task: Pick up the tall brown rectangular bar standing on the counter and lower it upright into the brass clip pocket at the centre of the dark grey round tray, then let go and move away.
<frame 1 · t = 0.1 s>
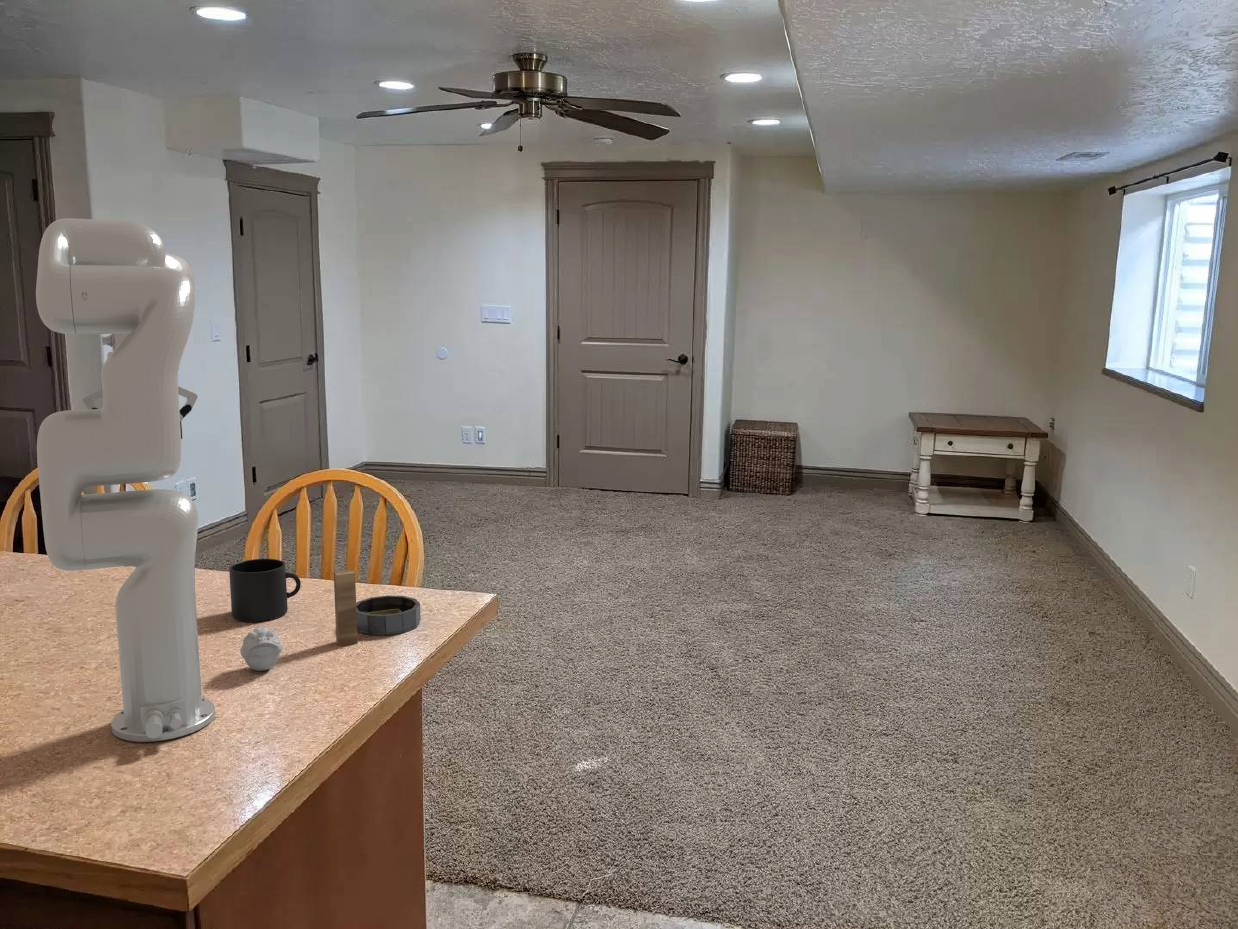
hand: (144, 445, 165), 31 cm above the kitchen counter, tool pointing down, fingers open, 9 cm apart
dark grey round tray: (386, 624, 170), on the kitchen counter
brown rectangular bar: (346, 642, 161), on the kitchen counter
mug: (267, 614, 175), on the kitchen counter
frog figurine: (262, 671, 149), on the kitchen counter
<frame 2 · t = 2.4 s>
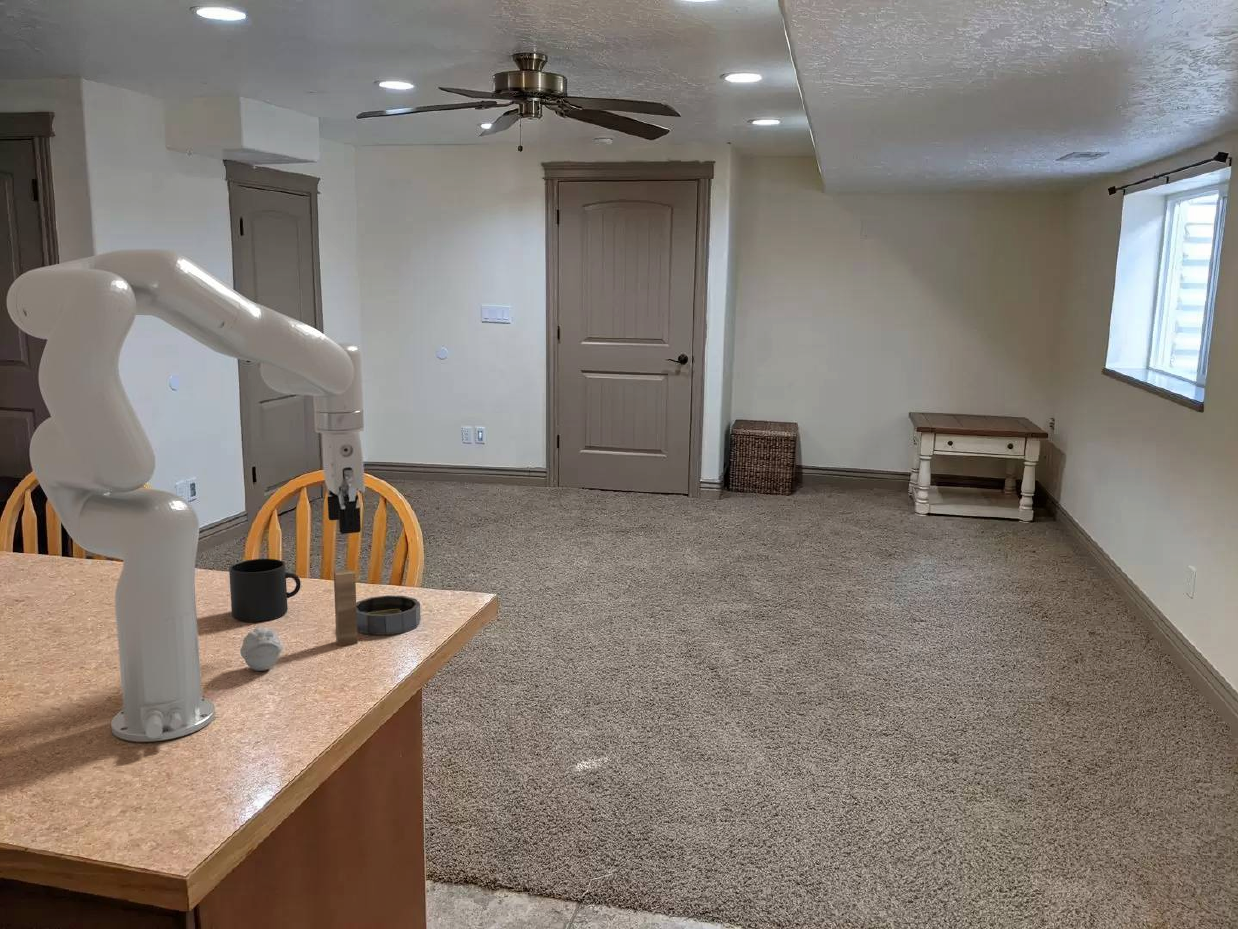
hand: (344, 525, 158), 20 cm above the kitchen counter, tool pointing down, fingers open, 9 cm apart
nothing on the kitchen counter moved.
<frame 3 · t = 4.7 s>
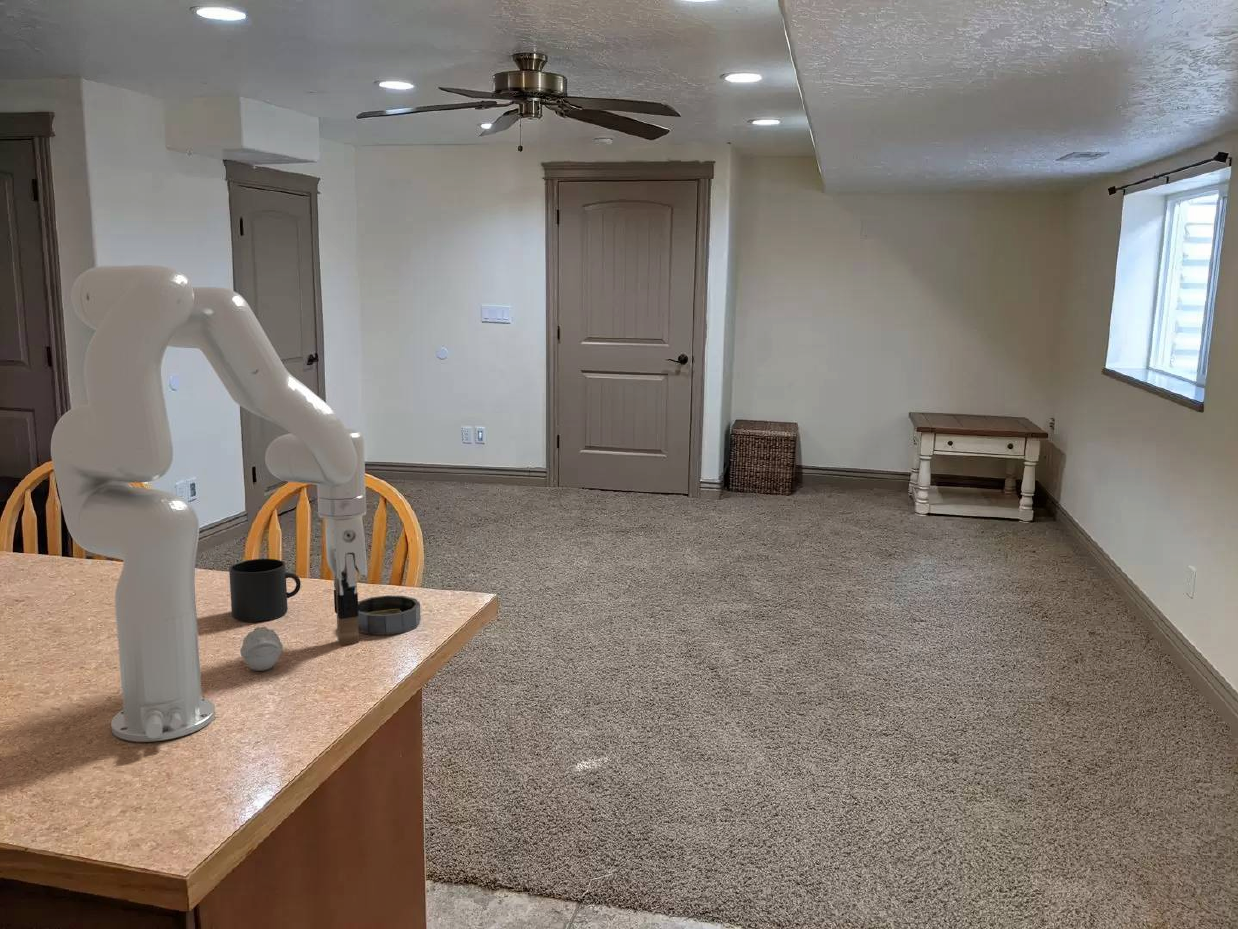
hand: (346, 613, 160), 5 cm above the kitchen counter, tool pointing down, fingers closed on brown rectangular bar, 2 cm apart
brown rectangular bar: (348, 641, 161), on the kitchen counter, touching gripper
everything else where it was.
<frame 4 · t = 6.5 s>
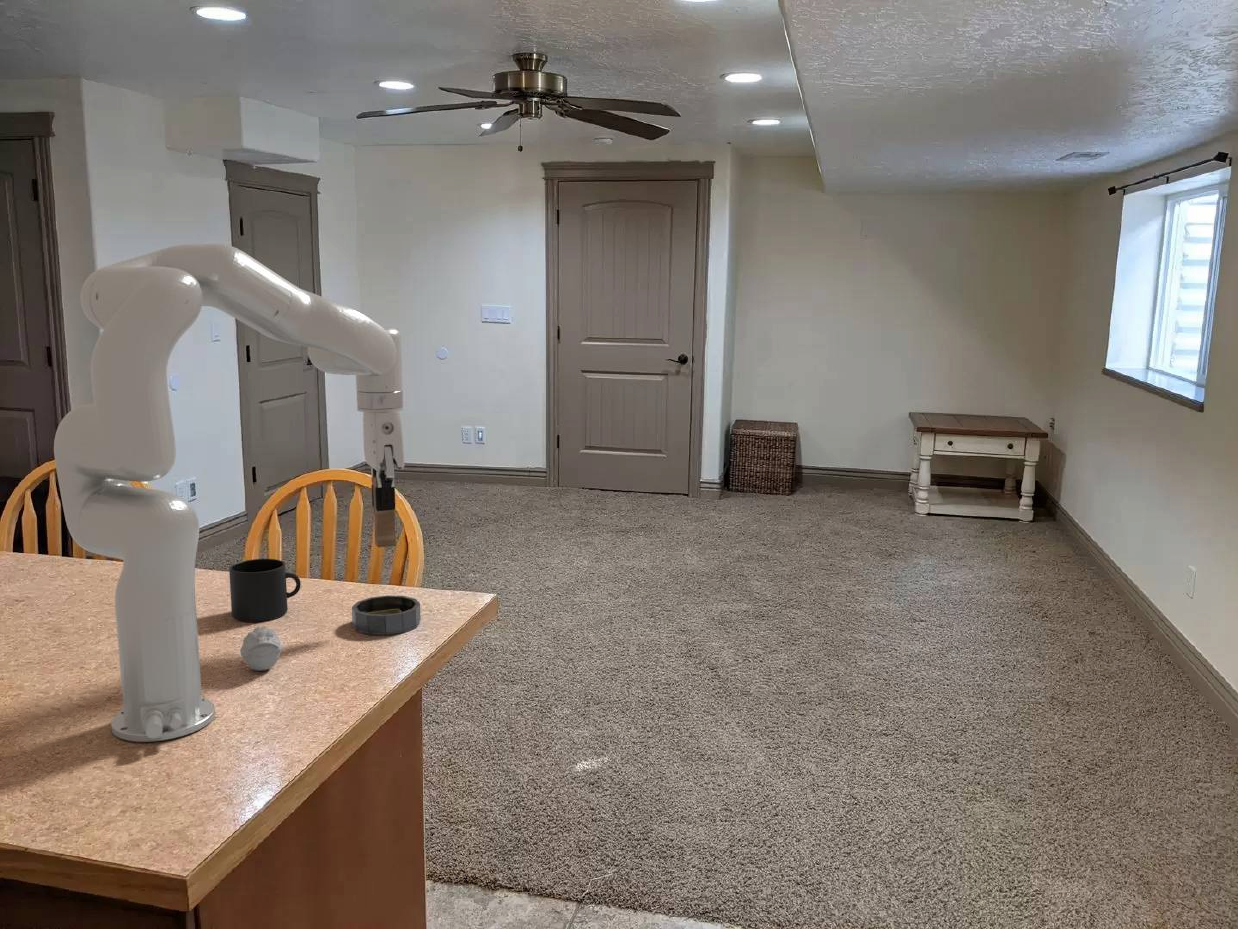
hand: (383, 507, 166), 21 cm above the kitchen counter, tool pointing down, fingers closed on brown rectangular bar
brown rectangular bar: (385, 544, 168), point 14 cm above the kitchen counter, touching gripper
everything else where it was.
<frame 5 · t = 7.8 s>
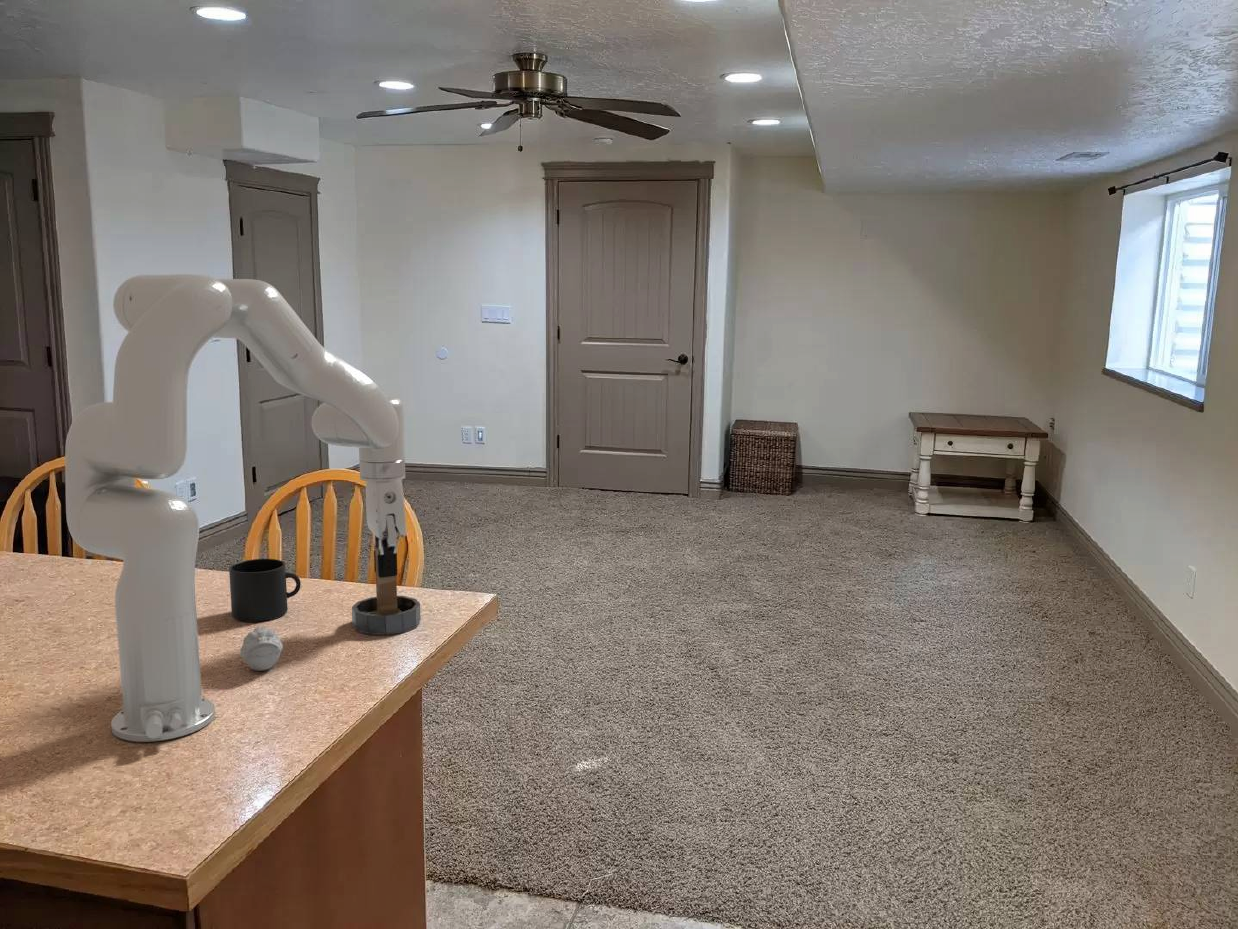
hand: (386, 573, 168), 9 cm above the kitchen counter, tool pointing down, fingers closed on brown rectangular bar, 2 cm apart
brown rectangular bar: (387, 614, 170), point 2 cm above the kitchen counter, touching gripper
everything else where it was.
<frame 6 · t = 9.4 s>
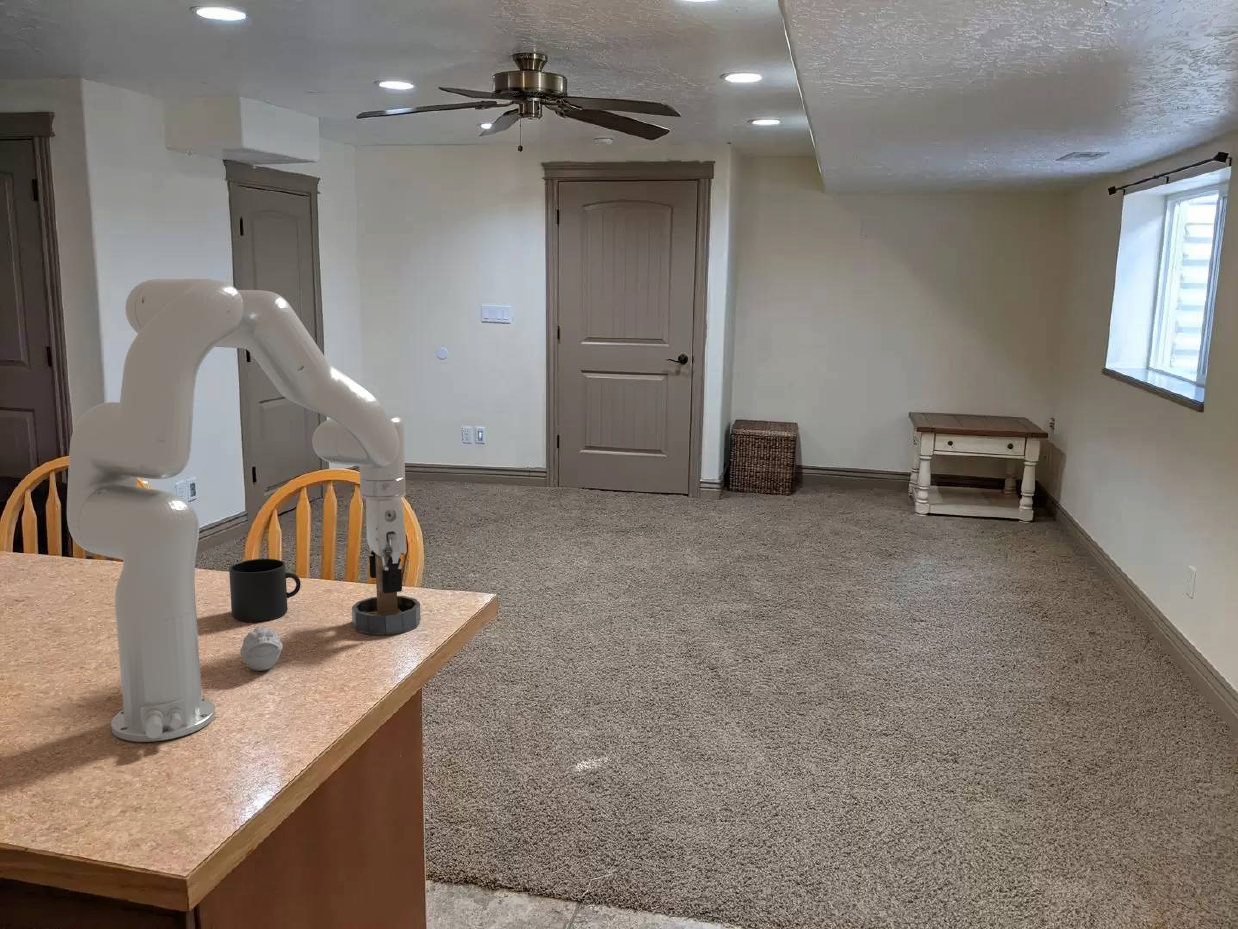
hand: (385, 584, 169), 7 cm above the kitchen counter, tool pointing down, fingers open, 9 cm apart
brown rectangular bar: (387, 621, 170), point 1 cm above the kitchen counter, touching dark grey round tray
everything else where it was.
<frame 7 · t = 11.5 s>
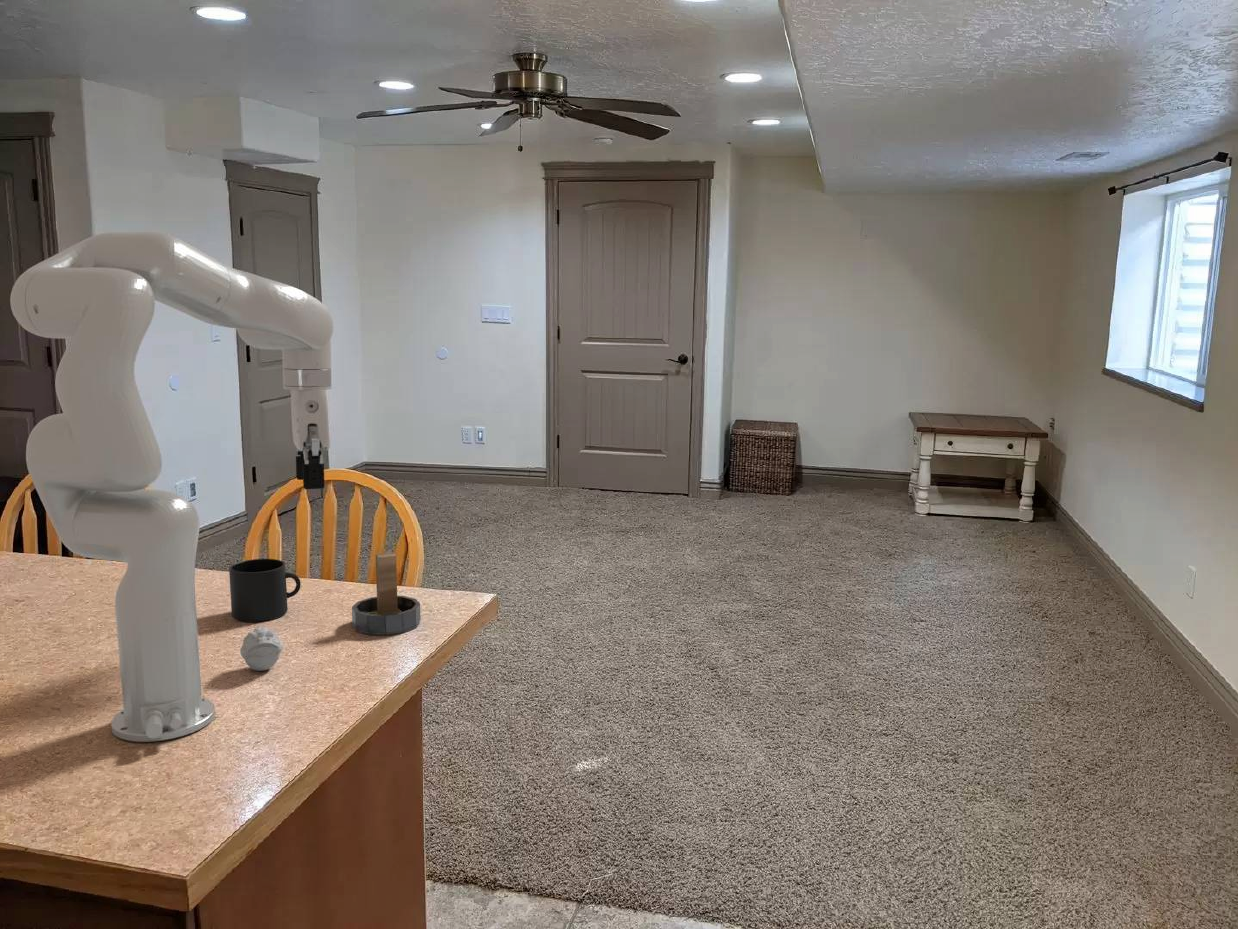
hand: (310, 483, 160), 26 cm above the kitchen counter, tool pointing down, fingers open, 9 cm apart
nothing on the kitchen counter moved.
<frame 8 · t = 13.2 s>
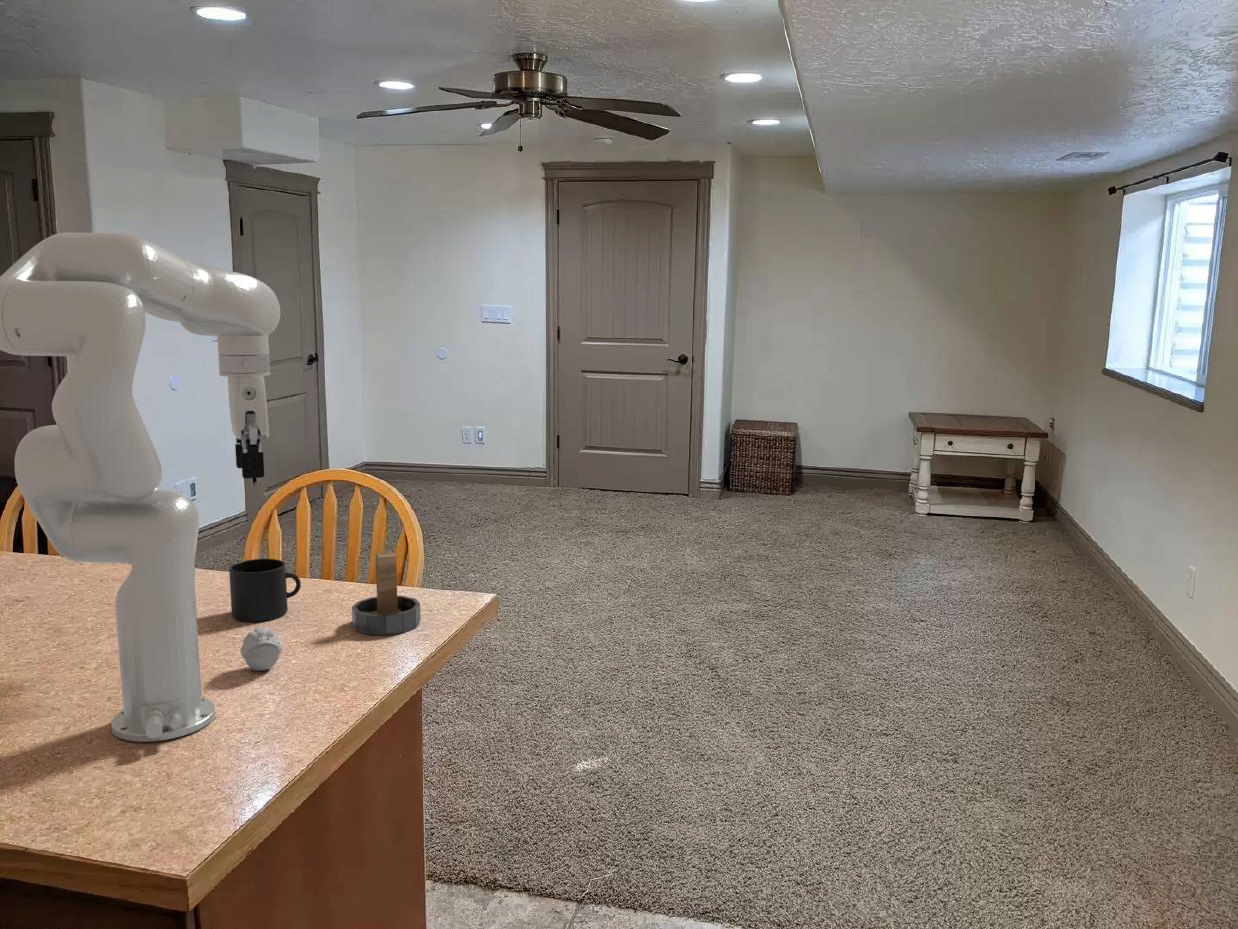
hand: (250, 472, 157), 28 cm above the kitchen counter, tool pointing down, fingers open, 9 cm apart
nothing on the kitchen counter moved.
at the end: brown rectangular bar 0.3 cm off-centre on the dark grey round tray, point 0.5 cm above the dark grey round tray's base; brown rectangular bar tilted 0°; the gripper is holding nothing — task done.
